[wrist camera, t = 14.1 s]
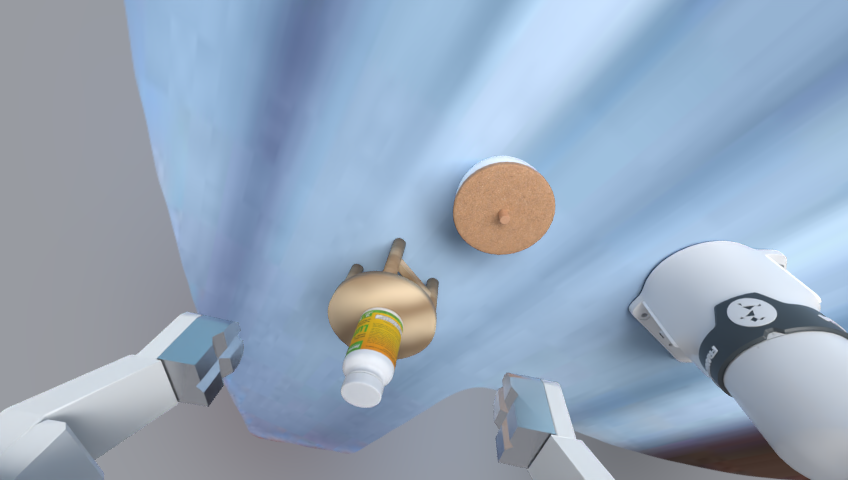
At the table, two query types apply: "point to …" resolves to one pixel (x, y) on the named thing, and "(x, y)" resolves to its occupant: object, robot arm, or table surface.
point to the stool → (387, 301)
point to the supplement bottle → (371, 357)
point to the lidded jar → (503, 205)
